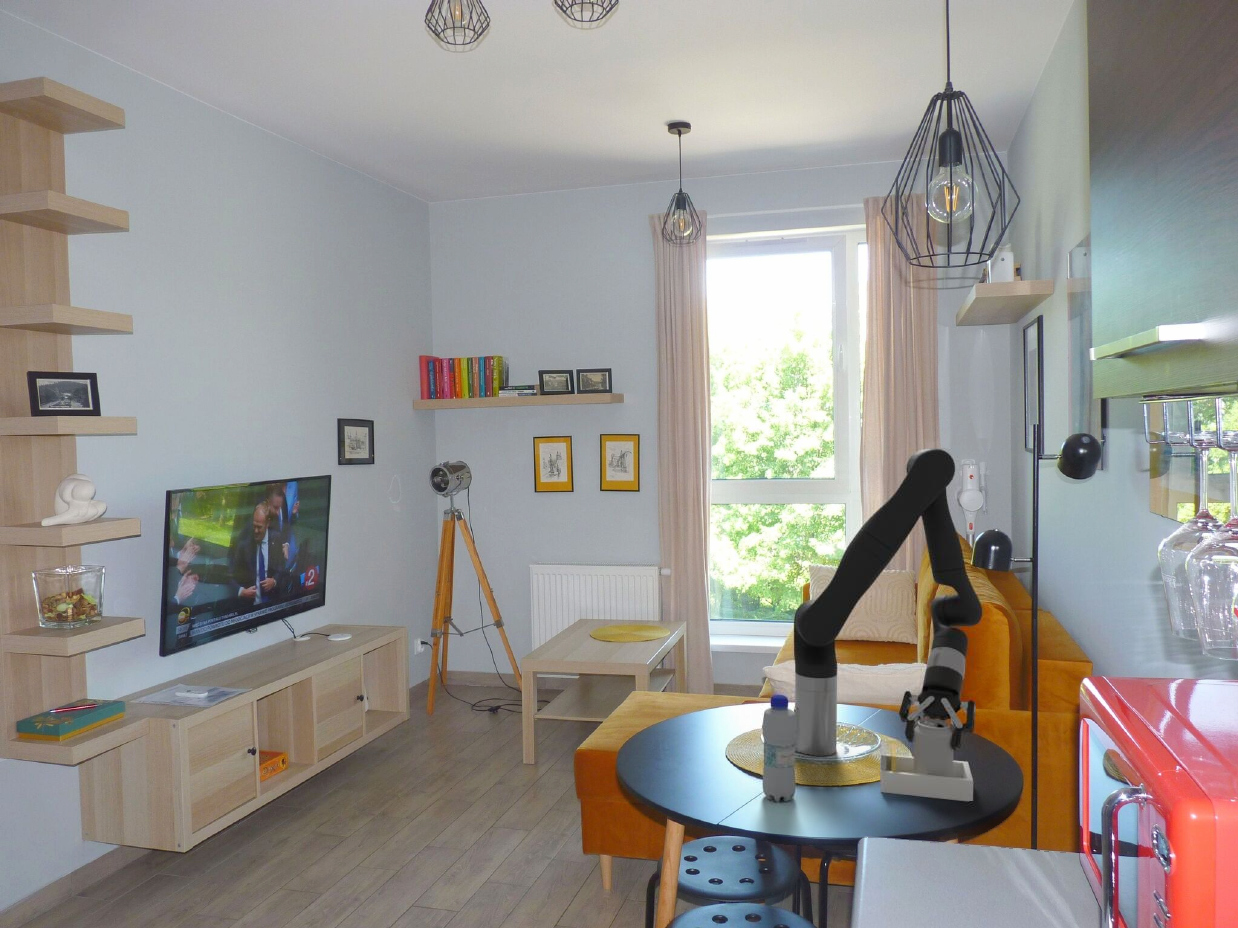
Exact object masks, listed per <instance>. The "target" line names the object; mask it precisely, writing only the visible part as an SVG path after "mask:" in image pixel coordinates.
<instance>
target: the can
mask: <svg viewBox="0 0 1238 928" xmlns="http://www.w3.org/2000/svg"><path fill="white" fill-rule="evenodd" d="M953 734H954V730H952V729H951V724H950V723H949V722H947V721H943V720H940V719H930V718H925V719H922V720H919V721H918V723H917V724H916V725H915V728H914V738H913V757H914V774H924V775H934V776H944V777H953V760H954V750H953V748H952V740H953Z"/></svg>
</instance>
